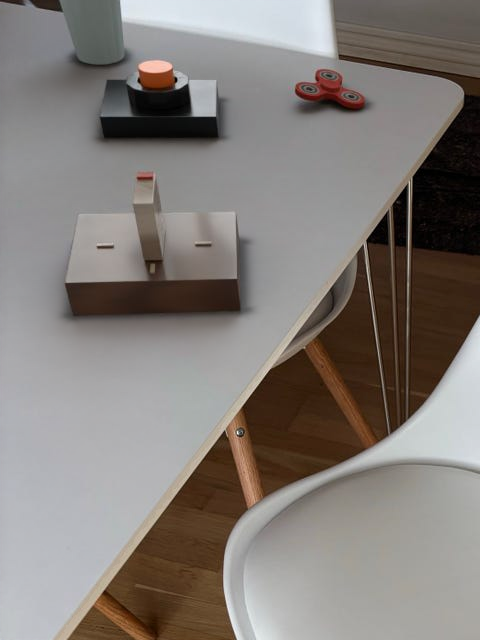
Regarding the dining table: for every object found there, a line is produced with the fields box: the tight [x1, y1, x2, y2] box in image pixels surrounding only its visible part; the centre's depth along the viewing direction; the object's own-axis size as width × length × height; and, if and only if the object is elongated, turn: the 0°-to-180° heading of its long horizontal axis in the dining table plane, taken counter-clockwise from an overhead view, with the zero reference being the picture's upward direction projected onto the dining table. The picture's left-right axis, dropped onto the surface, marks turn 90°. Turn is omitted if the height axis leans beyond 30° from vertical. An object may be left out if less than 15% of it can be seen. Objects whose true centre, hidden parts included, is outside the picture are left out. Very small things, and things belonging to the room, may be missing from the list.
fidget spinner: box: [294, 68, 366, 110], centre depth 118 cm, size 8×7×1 cm
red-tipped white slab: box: [132, 171, 165, 260], centre depth 87 cm, size 6×2×5 cm, turn 9°
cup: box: [58, 0, 125, 66], centre depth 119 cm, size 8×8×10 cm
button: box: [137, 59, 175, 88], centre depth 109 cm, size 4×4×2 cm
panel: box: [64, 211, 242, 316], centre depth 90 cm, size 14×12×3 cm
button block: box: [99, 69, 220, 139], centre depth 111 cm, size 12×10×4 cm
